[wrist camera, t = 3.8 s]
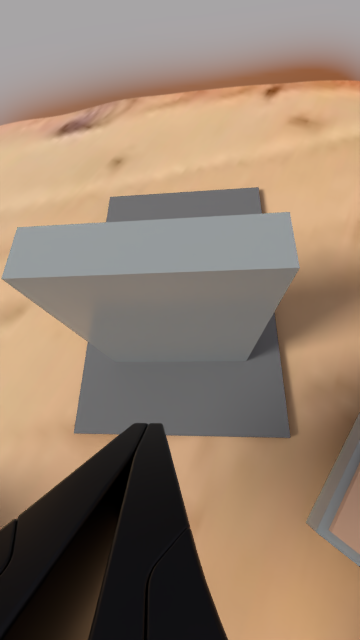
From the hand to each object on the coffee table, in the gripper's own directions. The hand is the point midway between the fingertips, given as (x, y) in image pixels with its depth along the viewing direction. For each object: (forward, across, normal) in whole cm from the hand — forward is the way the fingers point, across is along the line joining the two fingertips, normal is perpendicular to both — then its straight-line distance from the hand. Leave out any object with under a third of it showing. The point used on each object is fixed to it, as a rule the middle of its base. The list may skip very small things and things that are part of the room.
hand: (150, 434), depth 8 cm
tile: (+9, 0, -2) cm, 9 cm away
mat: (+12, 0, 0) cm, 12 cm away
